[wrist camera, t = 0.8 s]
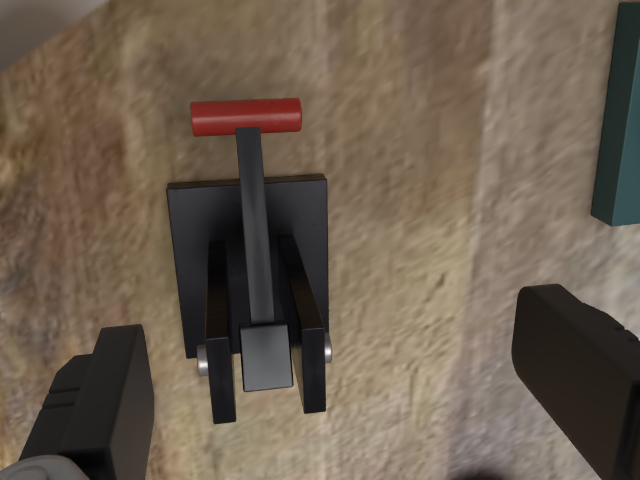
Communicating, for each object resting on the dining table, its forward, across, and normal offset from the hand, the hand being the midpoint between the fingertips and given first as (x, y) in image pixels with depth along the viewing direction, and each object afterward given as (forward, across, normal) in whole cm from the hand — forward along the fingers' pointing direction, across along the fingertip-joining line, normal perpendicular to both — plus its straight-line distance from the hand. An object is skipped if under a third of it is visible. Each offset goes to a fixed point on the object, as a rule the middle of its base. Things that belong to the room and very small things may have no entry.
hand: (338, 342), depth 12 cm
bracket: (+22, +1, +8) cm, 24 cm away
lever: (+16, +1, +4) cm, 16 cm away
